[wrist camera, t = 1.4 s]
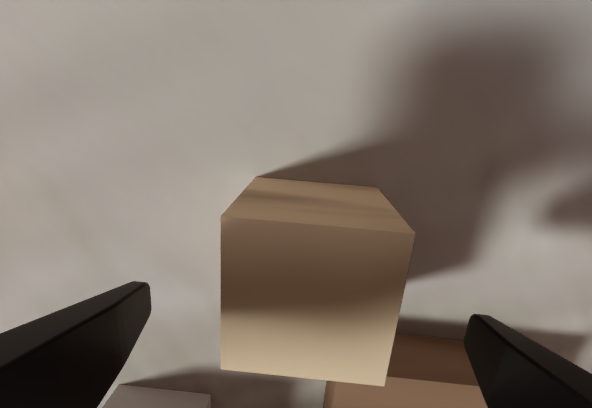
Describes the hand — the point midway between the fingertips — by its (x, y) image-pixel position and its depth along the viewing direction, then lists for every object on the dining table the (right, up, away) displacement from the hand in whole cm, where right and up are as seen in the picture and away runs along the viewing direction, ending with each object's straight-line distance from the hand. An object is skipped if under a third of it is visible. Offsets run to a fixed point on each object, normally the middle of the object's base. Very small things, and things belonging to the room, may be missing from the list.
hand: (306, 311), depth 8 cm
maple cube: (0, +2, +5) cm, 5 cm away
